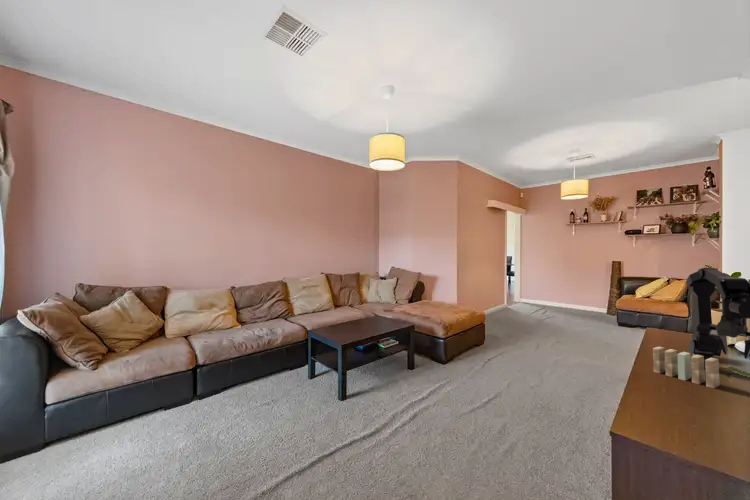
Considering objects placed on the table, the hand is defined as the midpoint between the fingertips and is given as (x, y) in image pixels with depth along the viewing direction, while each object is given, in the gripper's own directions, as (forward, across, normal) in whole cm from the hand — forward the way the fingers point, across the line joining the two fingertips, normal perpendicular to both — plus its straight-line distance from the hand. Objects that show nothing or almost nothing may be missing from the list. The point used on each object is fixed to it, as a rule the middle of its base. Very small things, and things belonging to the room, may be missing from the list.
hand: (735, 356), depth 111 cm
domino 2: (+13, -18, 0) cm, 22 cm away
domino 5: (+13, -6, 0) cm, 14 cm away
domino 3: (+13, -14, 0) cm, 19 cm away
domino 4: (+13, -10, 0) cm, 17 cm away
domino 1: (+13, -22, 0) cm, 26 cm away
